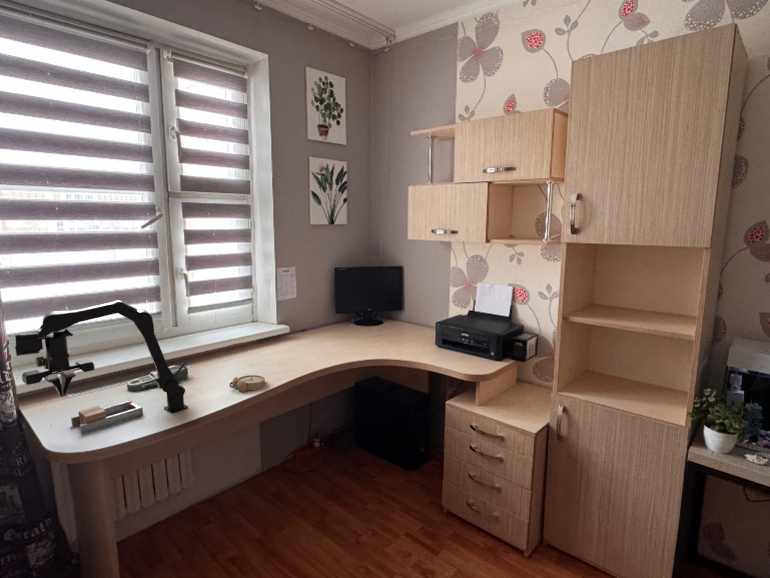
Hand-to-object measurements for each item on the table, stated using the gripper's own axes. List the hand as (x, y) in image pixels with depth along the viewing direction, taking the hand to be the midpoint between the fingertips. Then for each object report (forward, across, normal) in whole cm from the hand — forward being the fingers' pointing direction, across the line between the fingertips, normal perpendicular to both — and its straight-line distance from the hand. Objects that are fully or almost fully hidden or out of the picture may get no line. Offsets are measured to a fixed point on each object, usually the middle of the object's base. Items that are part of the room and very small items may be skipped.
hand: (62, 396), depth 150 cm
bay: (+13, -13, 0) cm, 18 cm away
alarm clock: (+13, -63, +10) cm, 65 cm away
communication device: (+14, -41, -24) cm, 49 cm away
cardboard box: (+13, -8, 0) cm, 15 cm away
